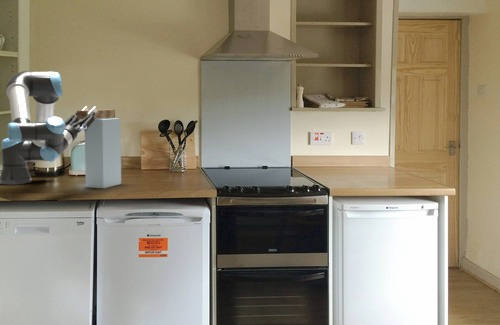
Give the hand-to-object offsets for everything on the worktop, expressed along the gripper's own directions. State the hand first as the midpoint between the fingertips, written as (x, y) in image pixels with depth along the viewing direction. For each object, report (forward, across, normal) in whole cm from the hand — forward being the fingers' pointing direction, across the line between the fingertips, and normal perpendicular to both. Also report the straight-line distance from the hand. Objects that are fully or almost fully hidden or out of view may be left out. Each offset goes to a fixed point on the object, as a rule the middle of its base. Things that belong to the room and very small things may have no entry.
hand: (91, 108), depth 275 cm
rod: (+1, 0, -6) cm, 6 cm away
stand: (-11, 0, -38) cm, 39 cm away
